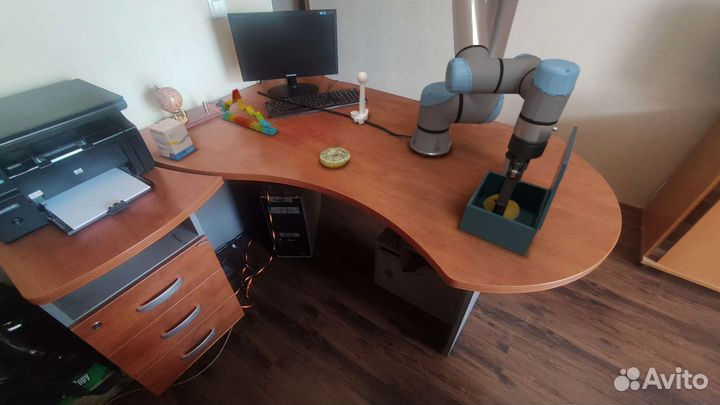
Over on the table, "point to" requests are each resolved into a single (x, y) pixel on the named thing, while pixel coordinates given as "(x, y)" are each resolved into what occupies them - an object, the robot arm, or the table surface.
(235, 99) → the colourful triangular block frame
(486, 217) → the dark teal hollow box
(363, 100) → the joystick
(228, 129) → the table surface
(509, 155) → the coffee cup
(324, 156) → the decorated donut
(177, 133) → the ink box
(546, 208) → the lid
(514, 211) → the bread roll
